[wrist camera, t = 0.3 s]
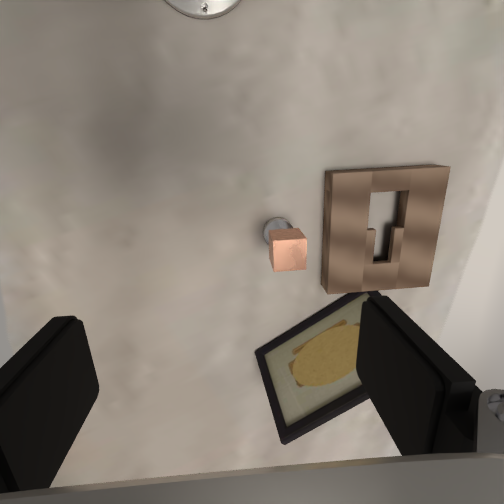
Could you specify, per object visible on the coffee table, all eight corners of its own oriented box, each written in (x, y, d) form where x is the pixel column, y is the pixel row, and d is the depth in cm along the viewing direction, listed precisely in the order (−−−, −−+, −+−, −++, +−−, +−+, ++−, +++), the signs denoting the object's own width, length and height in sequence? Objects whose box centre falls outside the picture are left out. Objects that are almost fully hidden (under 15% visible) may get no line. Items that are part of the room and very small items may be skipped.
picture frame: (368, 279, 49) (428, 344, 36) (388, 313, 53) (448, 383, 40) (253, 350, 53) (270, 433, 40) (280, 377, 57) (303, 461, 44)
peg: (262, 218, 45) (271, 239, 35) (291, 216, 45) (308, 236, 35) (263, 246, 46) (272, 273, 37) (292, 244, 46) (307, 270, 37)
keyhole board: (325, 171, 43) (333, 173, 39) (434, 164, 43) (450, 166, 40) (321, 283, 49) (327, 294, 46) (415, 276, 50) (428, 286, 47)
